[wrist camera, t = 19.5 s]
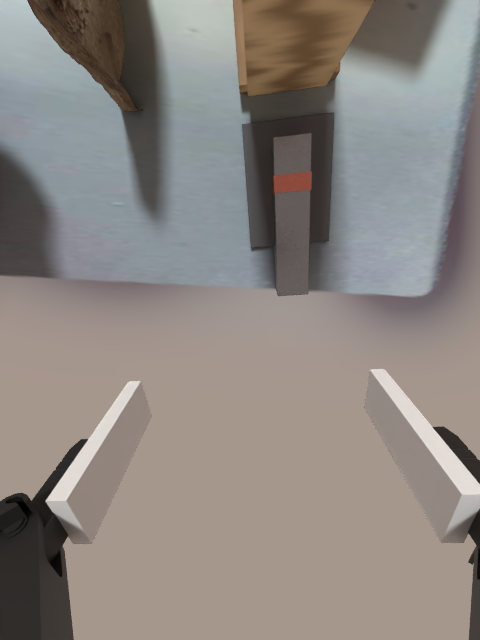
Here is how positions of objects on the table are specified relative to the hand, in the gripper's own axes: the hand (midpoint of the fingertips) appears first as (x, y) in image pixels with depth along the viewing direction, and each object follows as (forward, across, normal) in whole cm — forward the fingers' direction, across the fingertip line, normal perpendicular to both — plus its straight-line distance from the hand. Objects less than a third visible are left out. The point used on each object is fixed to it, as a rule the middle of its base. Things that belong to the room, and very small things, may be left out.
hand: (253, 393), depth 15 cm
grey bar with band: (+29, +6, +7) cm, 31 cm away
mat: (+30, +6, +12) cm, 33 cm away
